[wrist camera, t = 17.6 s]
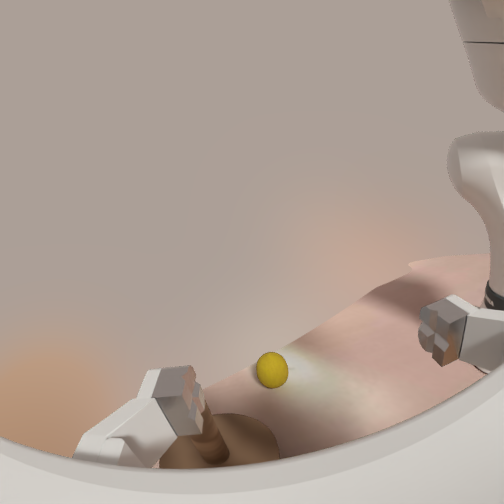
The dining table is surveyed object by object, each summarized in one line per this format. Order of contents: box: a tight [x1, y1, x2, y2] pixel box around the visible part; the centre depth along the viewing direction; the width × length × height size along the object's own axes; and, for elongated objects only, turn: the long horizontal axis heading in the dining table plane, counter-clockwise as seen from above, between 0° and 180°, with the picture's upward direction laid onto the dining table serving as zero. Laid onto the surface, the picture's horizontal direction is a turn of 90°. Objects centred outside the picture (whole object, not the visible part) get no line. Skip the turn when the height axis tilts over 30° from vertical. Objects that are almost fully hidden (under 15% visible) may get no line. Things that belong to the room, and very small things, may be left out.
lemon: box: [256, 352, 288, 388], centre depth 46 cm, size 6×6×8 cm
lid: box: [159, 399, 279, 469], centre depth 28 cm, size 16×16×12 cm
